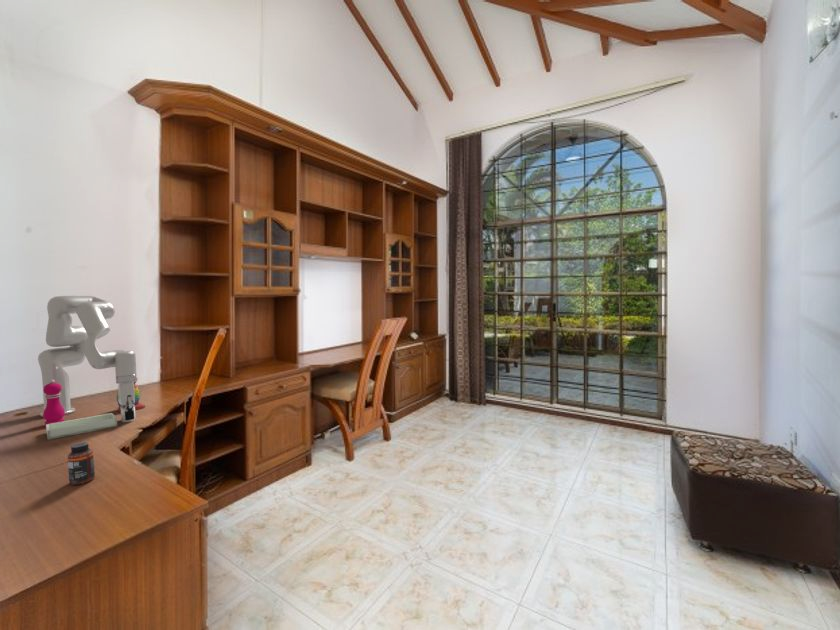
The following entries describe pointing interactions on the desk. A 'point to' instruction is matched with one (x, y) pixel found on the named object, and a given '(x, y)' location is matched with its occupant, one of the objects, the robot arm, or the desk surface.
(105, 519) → the desk surface
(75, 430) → the tray
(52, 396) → the pepper mill
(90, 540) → the desk surface
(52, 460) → the desk surface
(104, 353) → the robot arm
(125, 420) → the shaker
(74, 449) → the supplement bottle
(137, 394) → the stacking bear
